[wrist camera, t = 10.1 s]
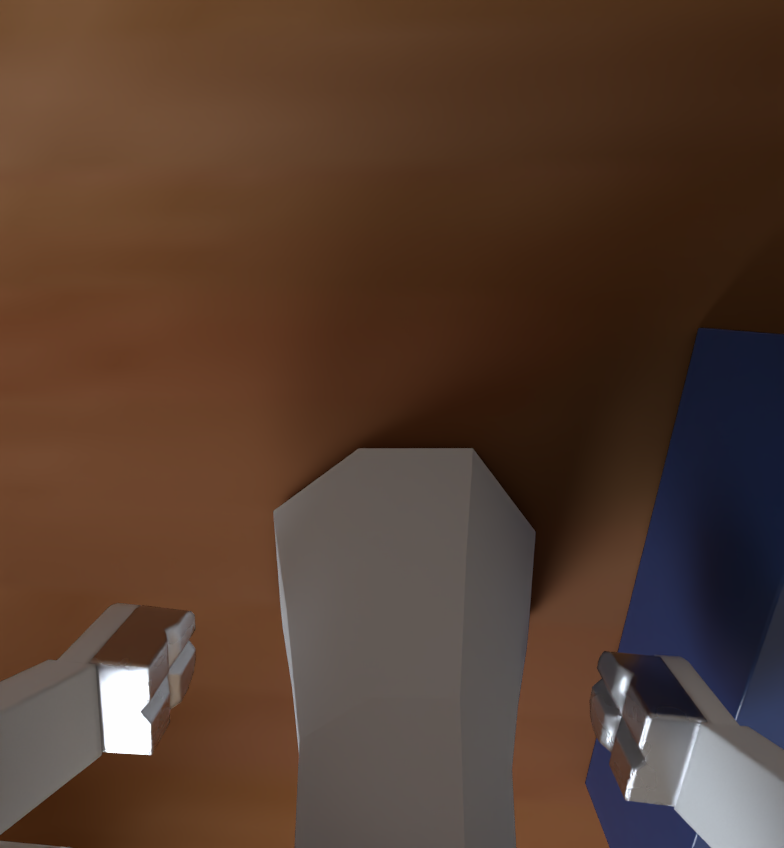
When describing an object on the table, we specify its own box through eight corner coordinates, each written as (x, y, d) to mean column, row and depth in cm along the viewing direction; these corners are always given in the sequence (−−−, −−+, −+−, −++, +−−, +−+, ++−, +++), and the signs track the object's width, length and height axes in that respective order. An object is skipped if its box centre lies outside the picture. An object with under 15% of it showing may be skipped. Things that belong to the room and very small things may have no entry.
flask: (565, 637, 14) (974, 1483, 4) (328, 700, 14) (169, 1546, 5) (495, 401, 12) (905, 837, 2) (231, 486, 13) (-338, 1096, 3)
